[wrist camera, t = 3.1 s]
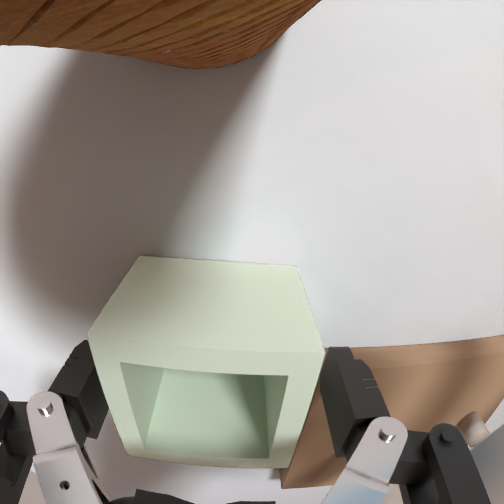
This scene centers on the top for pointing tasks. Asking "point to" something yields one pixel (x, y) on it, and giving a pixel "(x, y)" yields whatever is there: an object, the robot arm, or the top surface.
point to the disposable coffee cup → (153, 27)
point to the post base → (409, 401)
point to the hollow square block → (208, 361)
